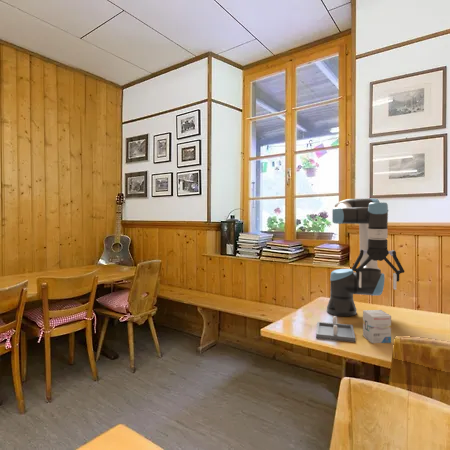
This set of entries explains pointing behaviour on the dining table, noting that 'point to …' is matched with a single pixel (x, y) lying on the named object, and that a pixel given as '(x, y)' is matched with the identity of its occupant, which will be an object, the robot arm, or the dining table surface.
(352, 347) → the dining table surface
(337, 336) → the tray
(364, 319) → the ink box
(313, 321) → the dining table surface
